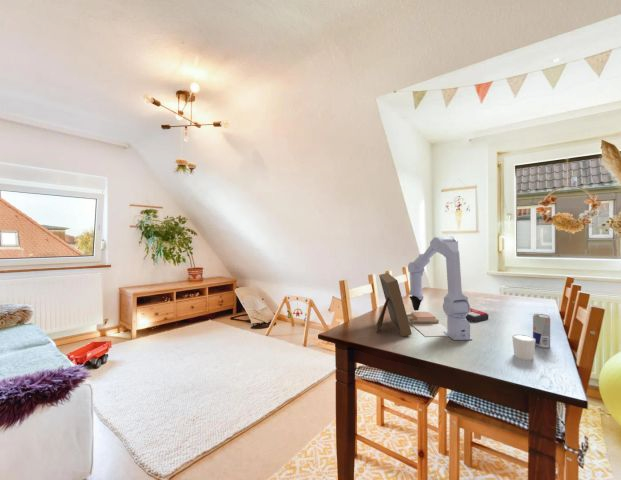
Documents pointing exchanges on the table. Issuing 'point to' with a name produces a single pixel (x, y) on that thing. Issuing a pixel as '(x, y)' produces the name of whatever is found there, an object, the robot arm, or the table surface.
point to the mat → (431, 329)
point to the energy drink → (541, 330)
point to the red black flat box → (476, 315)
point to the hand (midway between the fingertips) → (416, 310)
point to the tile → (423, 316)
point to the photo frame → (393, 305)
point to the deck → (420, 321)
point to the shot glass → (523, 346)
